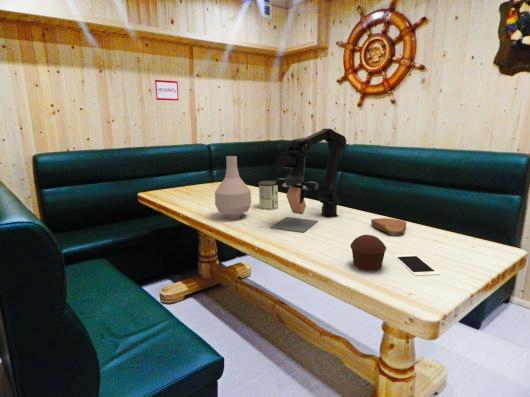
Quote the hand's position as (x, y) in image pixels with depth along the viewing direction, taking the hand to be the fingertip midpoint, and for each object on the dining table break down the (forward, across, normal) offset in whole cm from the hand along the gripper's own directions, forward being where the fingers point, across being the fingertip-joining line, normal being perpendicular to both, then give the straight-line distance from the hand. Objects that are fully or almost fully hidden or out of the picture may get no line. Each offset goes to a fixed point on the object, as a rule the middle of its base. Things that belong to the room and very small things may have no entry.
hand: (295, 202), depth 159 cm
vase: (+12, -33, +1) cm, 35 cm away
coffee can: (+9, -25, +25) cm, 36 cm away
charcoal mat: (+10, 0, +1) cm, 10 cm away
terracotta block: (+4, 0, +6) cm, 7 cm away
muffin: (+12, +39, -30) cm, 51 cm away
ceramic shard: (+9, +39, +10) cm, 41 cm away
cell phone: (+11, +53, -23) cm, 59 cm away
